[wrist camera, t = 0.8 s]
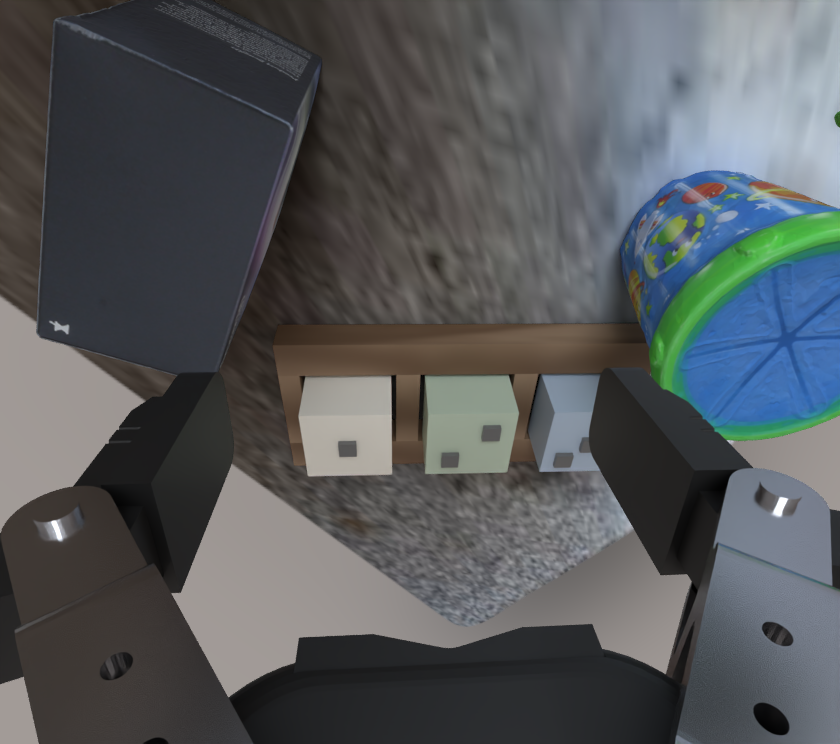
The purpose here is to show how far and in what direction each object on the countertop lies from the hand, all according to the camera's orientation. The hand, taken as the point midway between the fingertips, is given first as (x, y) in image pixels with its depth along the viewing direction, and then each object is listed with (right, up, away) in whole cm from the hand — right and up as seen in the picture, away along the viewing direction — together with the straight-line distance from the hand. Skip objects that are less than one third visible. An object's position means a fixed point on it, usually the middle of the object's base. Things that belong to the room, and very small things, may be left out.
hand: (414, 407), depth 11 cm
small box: (-9, +11, +13) cm, 20 cm away
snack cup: (+14, +8, +17) cm, 24 cm away
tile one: (-4, -1, +22) cm, 22 cm away
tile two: (+3, -1, +22) cm, 22 cm away
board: (+3, 0, +23) cm, 23 cm away
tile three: (+10, -1, +22) cm, 25 cm away
